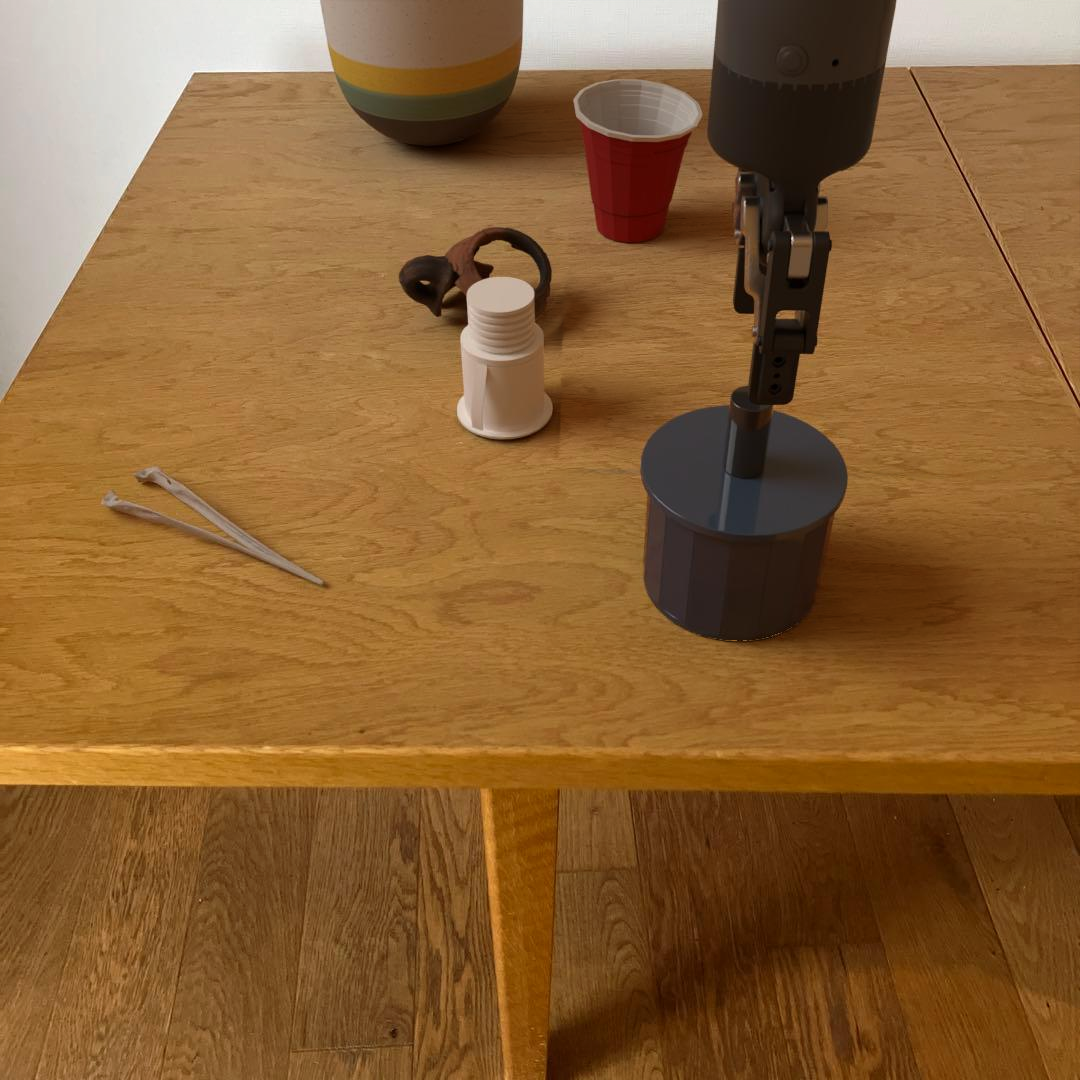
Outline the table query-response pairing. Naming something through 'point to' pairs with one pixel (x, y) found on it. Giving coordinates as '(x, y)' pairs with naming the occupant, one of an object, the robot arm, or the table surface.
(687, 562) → the tin
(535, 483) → the table surface
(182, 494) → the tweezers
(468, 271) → the brown curved piece
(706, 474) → the lid
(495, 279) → the downlight
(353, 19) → the planter
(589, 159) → the plastic cup
